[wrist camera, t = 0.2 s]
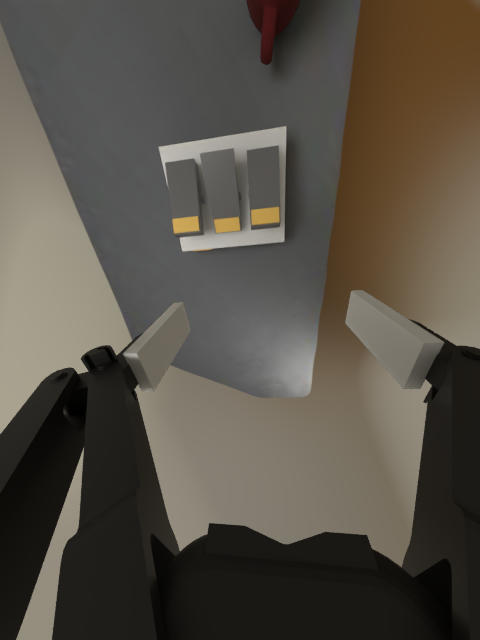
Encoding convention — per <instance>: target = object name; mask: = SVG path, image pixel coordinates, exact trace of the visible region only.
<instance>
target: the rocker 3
mask: <svg viewBox="0 0 480 640" xmlns="http://www.w3.org/2000/svg"><path fill="white" fill-rule="evenodd" d="M247 168H248V186H249V205H250V224H251V230H259V229H269V228H278V227H280V224H281V215H280V177H279V145H277V146H271V147H264V148H258V149H251V150H247Z"/></svg>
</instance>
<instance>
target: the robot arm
mask: <svg viewBox="0 0 480 640" xmlns="http://www.w3.org/2000/svg"><path fill="white" fill-rule="evenodd" d="M345 324H346V325H347V326H348V327H349V328H350V329H351V330H352V331H353V333H354V334H355V335H356V336H357V337H358V338H359V339H360V340H361V342H363V344H364V345H365V346H366V347H367V348H368V349H369V350H370V352H371V353H372V354H373V355H374V356H375V357H376V358H377V359H378V361H379V362H380V363H381V364H382V365H383V366H384V367H385V369H386V370H387V371H388V372H389V373H390V374H391V375H392V376H393V378H394V379H395V380H396V381H397V382H398V383H399V384H400V385H401V387H402V388H403V389H420V388H421V386H422V385H423V383H424V381H425V379H426V380H427V381H428V382H429V383H430V384H431V385H432V387H431V389H430V391H429V392H428V394H427V396H426V398H425V400H424V403H427V402H428V404H427V412H426V421H425V429H424V437H423V445H422V453H421V462H420V470H419V478H418V486H417V494H416V503H415V511H414V519H413V527H412V536H411V540H410V544H409V547H408V549H407V552H406V554H405V557H404V561H403V565H402V567H400V566H399V565H397V564H396V563H394V562H393V561H392V560H391V559H389V558H388V557H386V556H384V555H383V554H381V553H379V552H377V551H375V550H373V549H372V548H371V545H370V543H369V540H368V537H367V535H358V534H344V533H331V532H324V533H321V534H318V535H315V536H312V537H309V538H306V539H303V540H300V541H297V542H294V543H292V544H288V545H287V544H282V543H279V542H278V541H275V540H273V539H271V538H269V537H267V536H265V535H263V534H261V533H259V532H256V531H254V530H252V529H250V528H248V527H246V526H239V525H226V524H213V523H210V524H209V528H208V534H207V535H204V536H202V537H200V538H198V539H196V540H194V541H193V542H192V543H190V544H189V545H187V546H186V547H185V548H184V549H183V550H182V551H179V547H178V544H177V541H176V538H175V535H174V533H173V530H172V528H171V526H170V523H169V520H168V516H167V512H166V508H165V505H164V500H163V497H162V493H161V489H160V485H159V481H158V477H157V473H156V469H155V465H154V461H153V457H152V453H151V449H150V446H149V441H148V437H147V434H146V429H145V426H144V421H143V417H142V414H141V410H140V406H139V402H138V398H137V394H136V392H135V390H134V389H135V388H136V386H137V385H138V384H139V386H140V388H141V390H142V391H155V389H156V387H157V386H158V384H159V382H160V381H161V379H162V377H163V376H164V374H165V372H166V371H167V369H168V367H169V366H170V364H171V362H172V361H173V359H174V357H175V356H176V354H177V352H178V351H179V349H180V347H181V346H182V344H183V342H184V341H185V339H186V337H187V336H188V334H189V332H190V327H189V323H188V320H187V316H186V312H185V308H184V305H183V302H180V303H173V304H172V305H171V306H170V307H169V308H168V309H167V310H166V311H165V312H164V313H163V314H162V315H161V316H160V317H159V318H158V319H157V320H156V321H155V322H154V323H153V324H152V325H151V326H150V327H149V328H148V329H147V330H146V331H145V332H144V333H142V334H140V335H139V336H137V337H136V338H135V339H134V340H133V341H132V342H131V343H130V344H129V345H128V346H127V347H125V348H124V350H122V351H121V352H120V353H119V354H118V355H117V356H116V354H115V353H114V351H113V349H112V347H111V346H108V345H105V346H100V347H97V348H94V349H92V350H90V351H88V352H87V353H85V354H84V355H83V356H82V358H81V360H82V362H83V363H84V365H85V366H86V368H87V369H88V371H89V372H85V373H81V374H77V372H76V371H75V370H74V368H65V369H62V370H58V371H56V372H54V373H52V374H51V375H49V376H48V377H46V378H45V379H44V380H43V381H42V382H41V383H40V385H39V386H38V387H37V389H36V390H35V391H34V393H33V394H32V395H31V396H30V397H29V399H28V400H27V401H26V403H25V404H24V405H23V406H22V408H21V409H20V410H19V411H18V413H17V414H16V415H15V417H14V418H13V419H12V420H11V422H10V423H9V424H8V425H7V427H6V428H5V429H4V430H3V432H2V433H1V434H0V640H16V638H17V635H18V633H19V630H20V627H21V624H22V622H23V619H24V616H25V613H26V610H27V607H28V605H29V602H30V599H31V596H32V593H33V590H34V588H35V585H36V582H37V579H38V576H39V573H40V571H41V568H42V565H43V562H44V559H45V556H46V553H47V550H48V548H49V545H50V542H51V539H52V536H53V533H54V531H55V528H56V525H57V522H58V519H59V516H60V513H61V511H62V508H63V505H64V502H65V499H66V496H67V493H68V491H69V488H70V485H71V482H72V479H73V476H74V473H75V470H76V467H77V465H78V462H79V459H80V456H81V453H82V450H83V448H84V457H83V472H82V488H81V503H80V519H79V528H78V531H77V533H76V534H75V535H74V536H73V537H72V538H70V539H69V540H68V541H67V544H66V546H65V548H64V550H63V555H62V560H61V566H60V575H59V584H58V592H57V601H56V610H55V618H54V627H53V636H52V640H480V349H478V348H475V347H468V346H456V345H454V344H453V343H451V342H449V341H448V340H446V339H444V338H443V337H441V336H440V335H438V334H436V333H434V332H433V331H432V330H430V329H427V327H425V326H423V325H422V324H420V323H418V322H416V321H413V320H410V319H407V318H405V317H404V316H402V315H401V314H399V313H397V312H396V311H394V310H393V309H391V308H390V307H388V306H386V305H385V304H383V303H382V302H380V301H379V300H377V299H375V298H374V297H372V296H371V295H369V294H368V293H366V292H364V291H363V290H356V291H351V296H350V300H349V306H348V311H347V316H346V321H345Z"/></svg>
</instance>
